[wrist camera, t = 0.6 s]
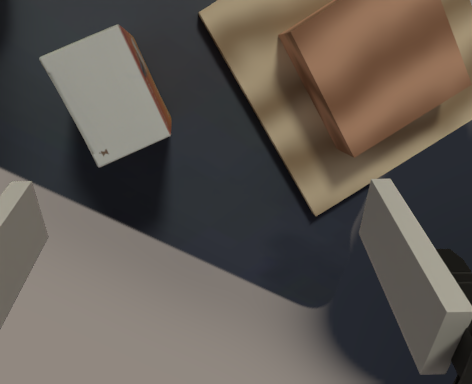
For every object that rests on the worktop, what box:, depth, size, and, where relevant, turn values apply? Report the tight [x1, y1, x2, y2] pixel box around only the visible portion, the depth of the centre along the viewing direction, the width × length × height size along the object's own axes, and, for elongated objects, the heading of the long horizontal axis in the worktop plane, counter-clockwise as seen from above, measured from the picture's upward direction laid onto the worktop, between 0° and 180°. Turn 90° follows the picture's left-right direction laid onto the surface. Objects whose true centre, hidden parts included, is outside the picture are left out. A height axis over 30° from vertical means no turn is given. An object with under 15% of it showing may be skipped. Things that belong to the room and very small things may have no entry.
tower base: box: [198, 0, 472, 216], centre depth 37 cm, size 22×22×5 cm
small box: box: [39, 25, 171, 168], centre depth 33 cm, size 8×6×10 cm
